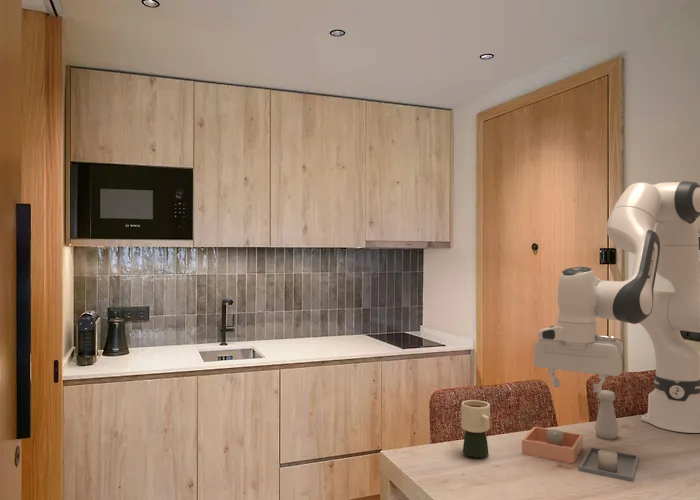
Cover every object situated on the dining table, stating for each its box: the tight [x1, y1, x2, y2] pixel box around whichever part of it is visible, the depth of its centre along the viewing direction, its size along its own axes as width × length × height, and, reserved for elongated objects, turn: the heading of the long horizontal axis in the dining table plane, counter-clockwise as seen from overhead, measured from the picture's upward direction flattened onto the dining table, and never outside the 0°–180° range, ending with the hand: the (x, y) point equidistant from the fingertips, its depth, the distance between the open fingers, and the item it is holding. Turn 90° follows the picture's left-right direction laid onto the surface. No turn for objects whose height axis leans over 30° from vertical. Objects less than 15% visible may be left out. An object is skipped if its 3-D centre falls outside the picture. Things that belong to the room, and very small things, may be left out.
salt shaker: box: [594, 389, 619, 440], centre depth 149 cm, size 6×6×13 cm
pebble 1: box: [547, 429, 563, 446], centre depth 141 cm, size 4×4×4 cm
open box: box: [521, 426, 584, 465], centre depth 139 cm, size 12×12×4 cm
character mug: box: [460, 399, 491, 458], centre depth 137 cm, size 11×7×13 cm, turn 20°
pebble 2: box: [598, 449, 617, 473], centre depth 127 cm, size 4×4×4 cm
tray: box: [578, 446, 640, 483], centre depth 130 cm, size 15×11×1 cm
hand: (576, 389), depth 134 cm, fingers open, 8 cm apart
